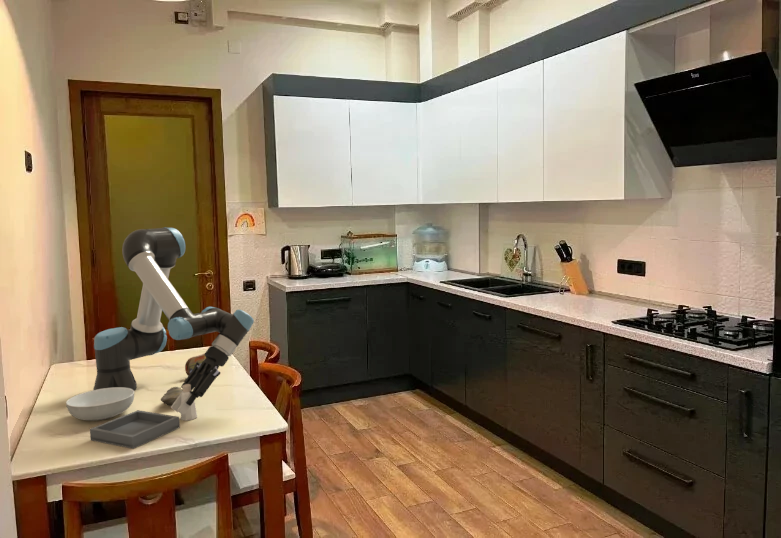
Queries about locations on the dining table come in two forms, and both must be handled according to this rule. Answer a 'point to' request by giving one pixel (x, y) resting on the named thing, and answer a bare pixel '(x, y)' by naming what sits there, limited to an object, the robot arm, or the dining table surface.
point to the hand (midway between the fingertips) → (177, 411)
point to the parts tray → (134, 429)
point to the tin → (193, 362)
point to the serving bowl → (100, 403)
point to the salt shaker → (191, 411)
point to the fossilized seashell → (171, 395)
